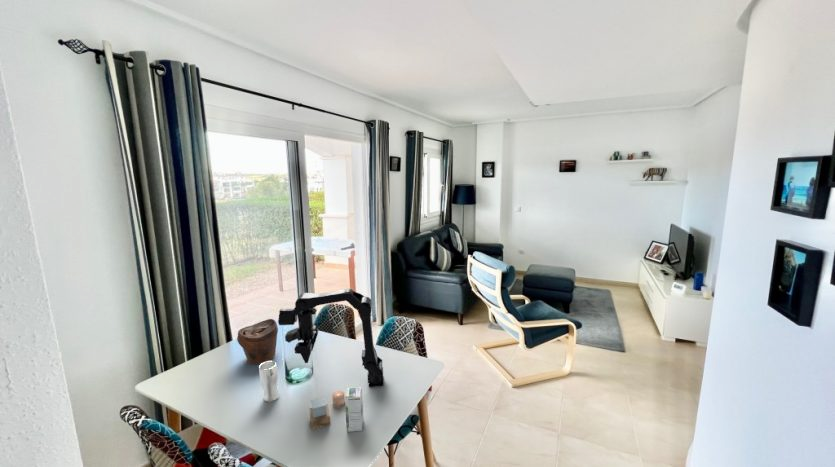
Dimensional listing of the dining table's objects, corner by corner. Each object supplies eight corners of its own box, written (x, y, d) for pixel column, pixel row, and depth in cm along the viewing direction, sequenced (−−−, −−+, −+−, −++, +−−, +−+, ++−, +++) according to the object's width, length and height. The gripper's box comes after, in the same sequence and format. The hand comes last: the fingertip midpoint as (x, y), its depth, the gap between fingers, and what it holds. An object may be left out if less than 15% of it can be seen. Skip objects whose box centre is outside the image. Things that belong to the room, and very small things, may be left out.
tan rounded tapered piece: (345, 398, 146) (344, 390, 146) (344, 406, 142) (343, 398, 141) (333, 399, 146) (333, 391, 145) (332, 407, 141) (331, 399, 140)
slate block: (325, 406, 137) (324, 397, 136) (326, 414, 132) (325, 405, 132) (312, 409, 135) (311, 400, 134) (312, 418, 131) (312, 408, 130)
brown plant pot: (231, 366, 171) (226, 332, 167) (257, 345, 190) (254, 314, 186) (263, 371, 167) (259, 336, 163) (287, 349, 186) (284, 318, 182)
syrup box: (348, 420, 134) (346, 387, 131) (363, 419, 134) (361, 386, 131) (346, 432, 128) (344, 397, 125) (362, 431, 129) (360, 396, 126)
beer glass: (283, 393, 150) (280, 362, 147) (272, 404, 144) (268, 371, 141) (270, 390, 153) (266, 359, 149) (258, 400, 146) (254, 368, 143)
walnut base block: (328, 412, 139) (327, 403, 138) (330, 425, 133) (329, 415, 132) (310, 417, 137) (309, 408, 136) (311, 430, 130) (310, 420, 129)
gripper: (291, 314, 156) (295, 346, 160) (279, 335, 138) (283, 370, 142) (317, 313, 157) (320, 345, 161) (308, 333, 139) (311, 369, 142)
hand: (308, 356), depth 151 cm, fingers open, 9 cm apart
